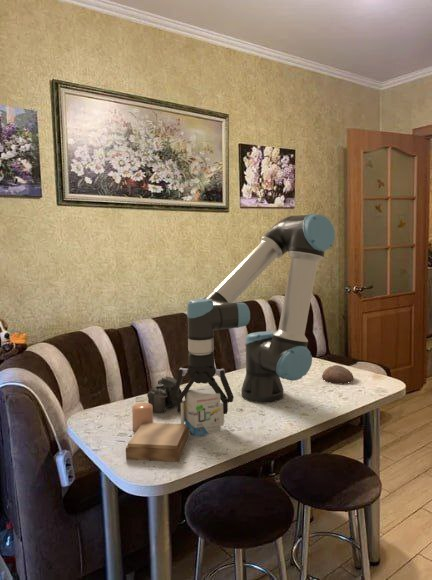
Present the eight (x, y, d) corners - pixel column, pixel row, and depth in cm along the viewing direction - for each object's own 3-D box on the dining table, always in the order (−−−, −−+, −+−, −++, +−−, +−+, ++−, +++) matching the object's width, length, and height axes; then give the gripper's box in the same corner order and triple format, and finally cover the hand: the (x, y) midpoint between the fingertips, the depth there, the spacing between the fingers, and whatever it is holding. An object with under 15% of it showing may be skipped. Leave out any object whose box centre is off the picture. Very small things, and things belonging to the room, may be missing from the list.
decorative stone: (326, 373, 182) (327, 360, 181) (356, 377, 176) (356, 364, 175) (317, 381, 172) (317, 368, 171) (348, 386, 166) (348, 372, 165)
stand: (189, 436, 126) (188, 423, 125) (178, 461, 112) (178, 446, 111) (142, 434, 127) (141, 421, 127) (126, 458, 114) (125, 444, 113)
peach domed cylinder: (154, 424, 134) (154, 403, 133) (150, 433, 128) (149, 410, 127) (135, 424, 135) (135, 402, 134) (130, 432, 129) (129, 410, 128)
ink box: (194, 436, 126) (193, 397, 124) (184, 425, 133) (183, 388, 132) (221, 431, 129) (221, 393, 128) (210, 420, 137) (209, 384, 135)
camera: (174, 415, 142) (173, 385, 140) (145, 412, 144) (144, 383, 143) (186, 400, 155) (185, 372, 153) (159, 398, 157) (158, 371, 156)
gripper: (242, 349, 130) (243, 419, 133) (165, 348, 134) (167, 416, 136) (240, 355, 123) (241, 430, 126) (158, 354, 126) (161, 426, 129)
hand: (202, 423), depth 131 cm, fingers closed on ink box, 11 cm apart
